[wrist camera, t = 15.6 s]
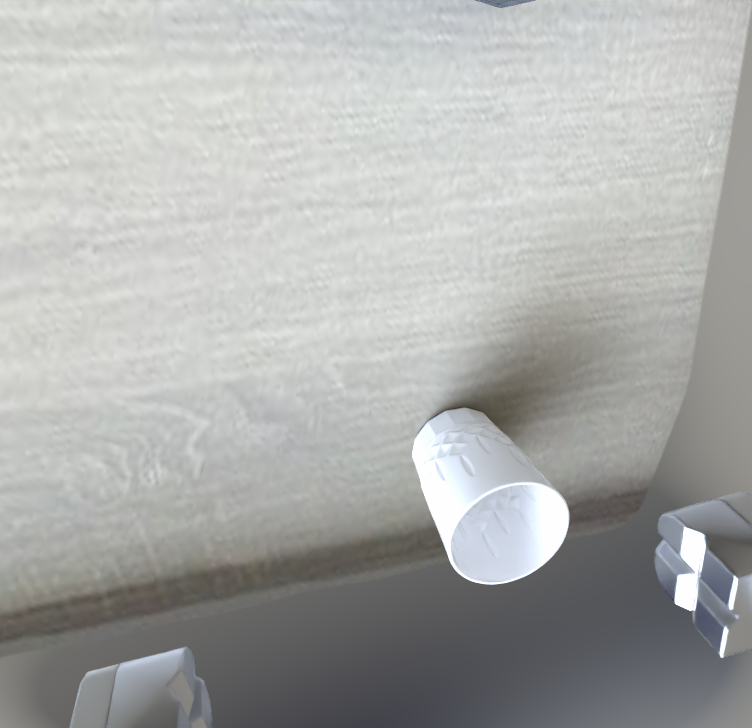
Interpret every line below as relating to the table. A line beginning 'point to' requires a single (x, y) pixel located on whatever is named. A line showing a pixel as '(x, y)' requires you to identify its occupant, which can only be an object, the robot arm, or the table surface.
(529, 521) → the white cup
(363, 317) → the table surface
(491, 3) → the compartment tray
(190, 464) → the table surface
